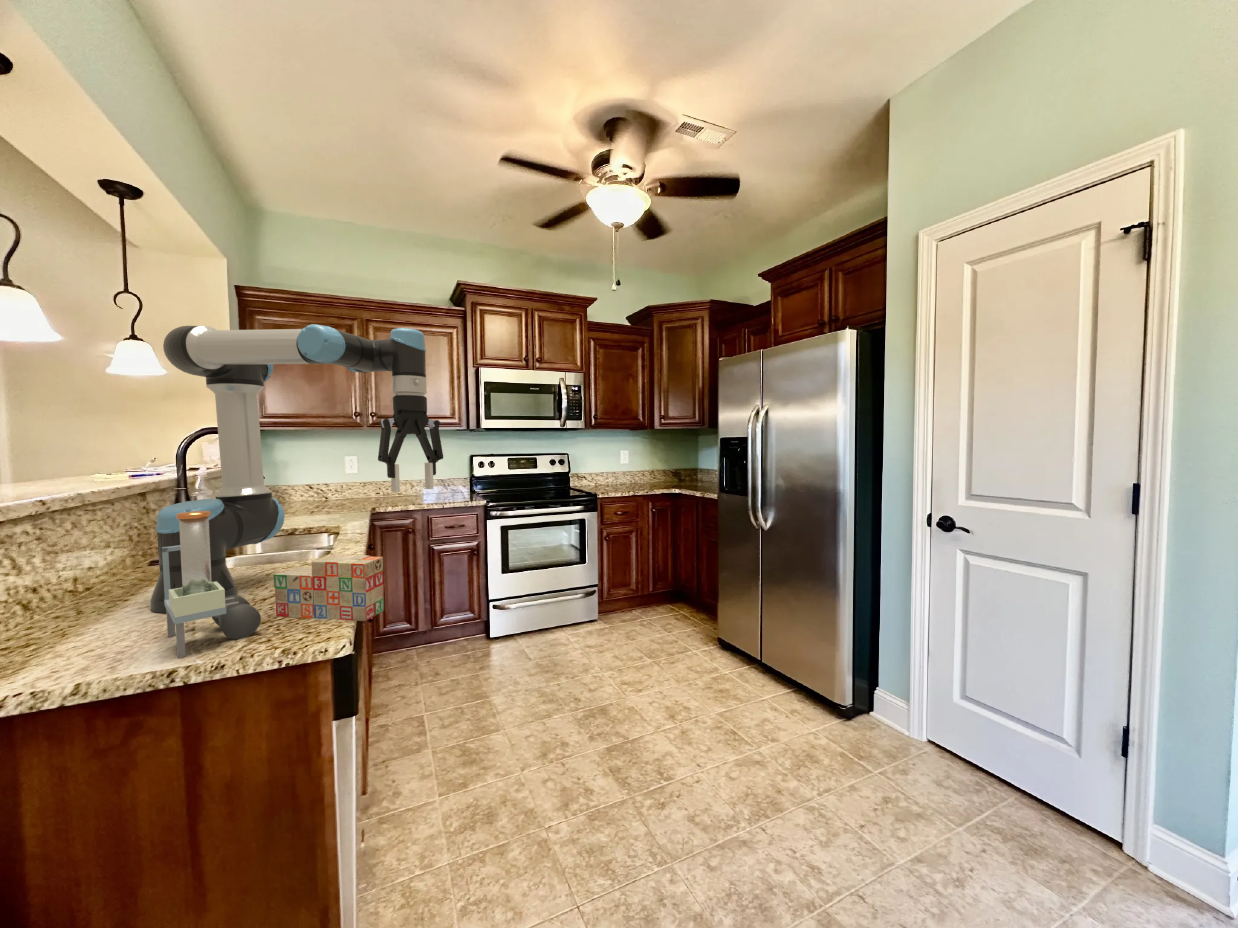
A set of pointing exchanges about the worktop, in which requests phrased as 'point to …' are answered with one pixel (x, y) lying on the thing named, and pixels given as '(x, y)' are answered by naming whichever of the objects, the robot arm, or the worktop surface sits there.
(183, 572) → the orange capped bottle
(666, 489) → the worktop surface
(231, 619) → the cart
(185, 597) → the tray
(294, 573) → the stack of blocks
